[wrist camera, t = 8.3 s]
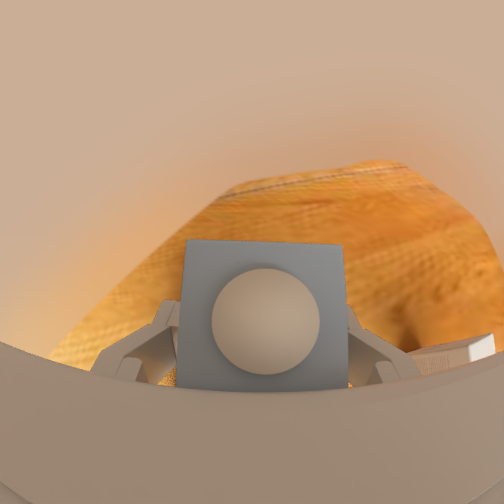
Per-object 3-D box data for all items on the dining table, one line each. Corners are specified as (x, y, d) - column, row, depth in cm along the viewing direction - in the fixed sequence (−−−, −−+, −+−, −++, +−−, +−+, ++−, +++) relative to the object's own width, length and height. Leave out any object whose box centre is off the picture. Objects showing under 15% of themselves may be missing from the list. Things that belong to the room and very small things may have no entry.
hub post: (213, 375, 14) (172, 403, 5) (217, 305, 15) (184, 234, 7) (287, 376, 14) (352, 403, 5) (288, 306, 15) (345, 240, 7)
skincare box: (427, 391, 24) (498, 393, 13) (400, 403, 24) (471, 413, 13) (422, 345, 27) (494, 330, 16) (395, 354, 26) (467, 344, 15)
